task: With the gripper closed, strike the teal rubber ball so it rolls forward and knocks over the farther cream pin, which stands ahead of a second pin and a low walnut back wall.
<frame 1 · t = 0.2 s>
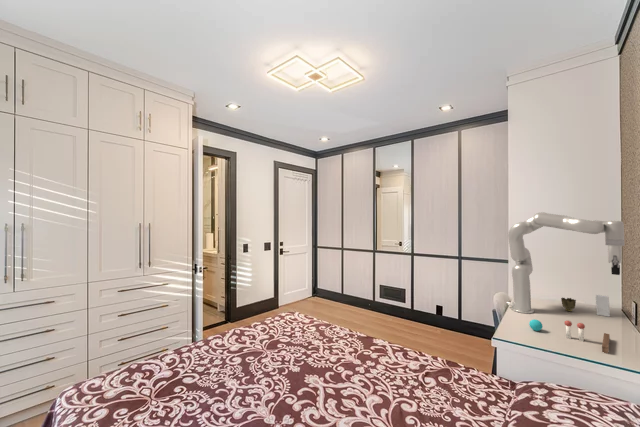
hand: (615, 273, 161), 31 cm above the table, tool pointing down, fingers open, 9 cm apart
skincare box: (603, 315, 181), on the table
pin 2: (581, 340, 147), on the table
cup: (568, 311, 190), on the table
ball: (535, 325, 161), on the table
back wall: (606, 345, 141), on the table
pin 1: (568, 337, 151), on the table
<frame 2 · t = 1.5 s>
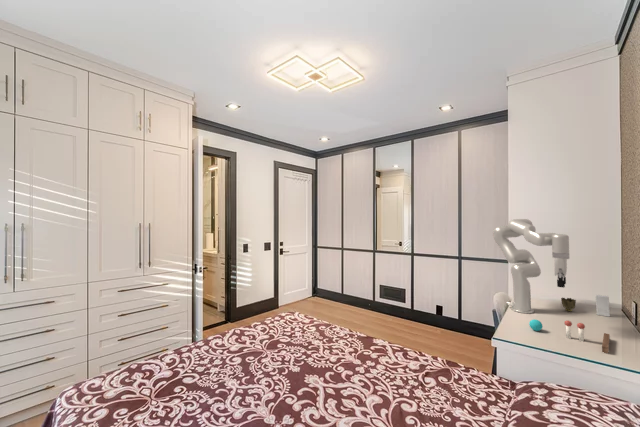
hand: (561, 285, 165), 24 cm above the table, tool pointing down, fingers open, 9 cm apart
nothing on the table moved.
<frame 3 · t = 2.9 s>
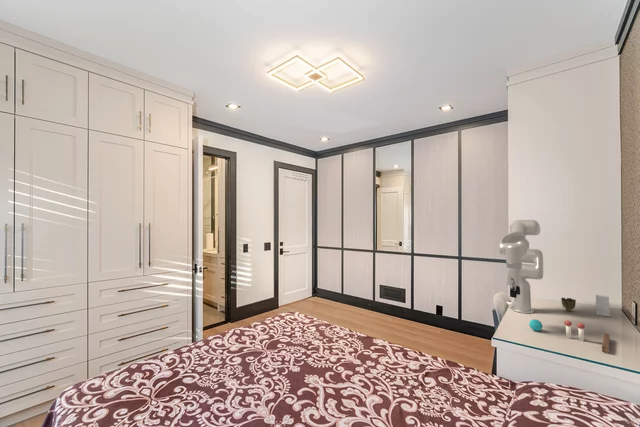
hand: (515, 295, 168), 18 cm above the table, tool pointing down, fingers open, 7 cm apart
nothing on the table moved.
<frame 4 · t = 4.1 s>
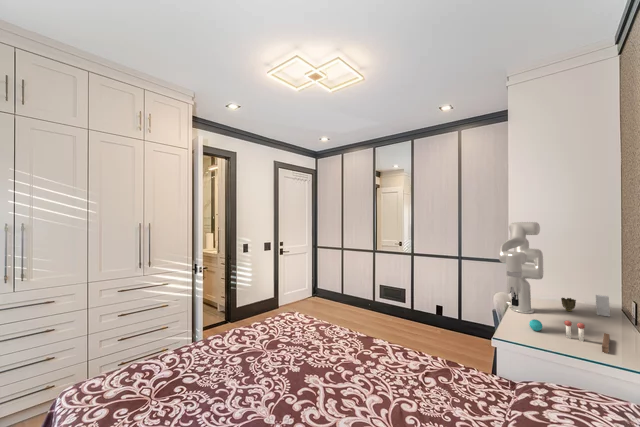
hand: (515, 305, 168), 12 cm above the table, tool pointing down, fingers closed
nothing on the table moved.
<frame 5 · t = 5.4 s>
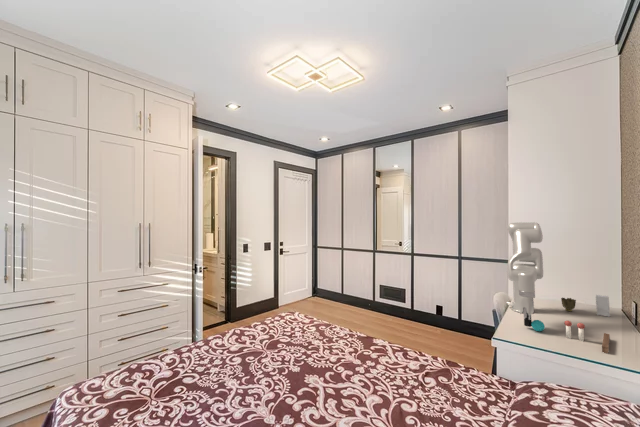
hand: (528, 325, 164), 2 cm above the table, tool pointing down, fingers closed
ball: (537, 325, 160), on the table, touching gripper
everything else where it was.
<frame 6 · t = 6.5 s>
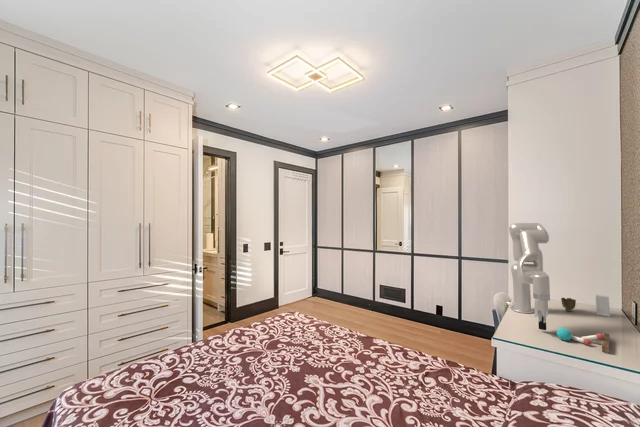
hand: (542, 329, 159), 2 cm above the table, tool pointing down, fingers closed
pin 2: (582, 338, 147), point 1 cm above the table, tilted 64°, touching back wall
ball: (564, 334, 149), on the table
pin 1: (570, 337, 149), point 1 cm above the table, tilted 86°
everything else where it was.
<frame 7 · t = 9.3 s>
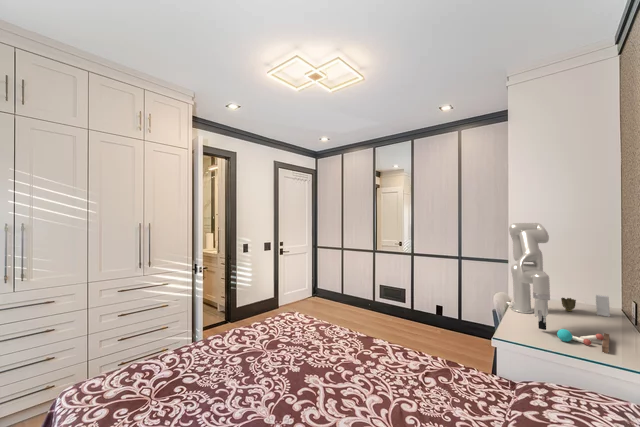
hand: (542, 328, 159), 2 cm above the table, tool pointing down, fingers closed
ball: (564, 335, 147), on the table
everything else where it was.
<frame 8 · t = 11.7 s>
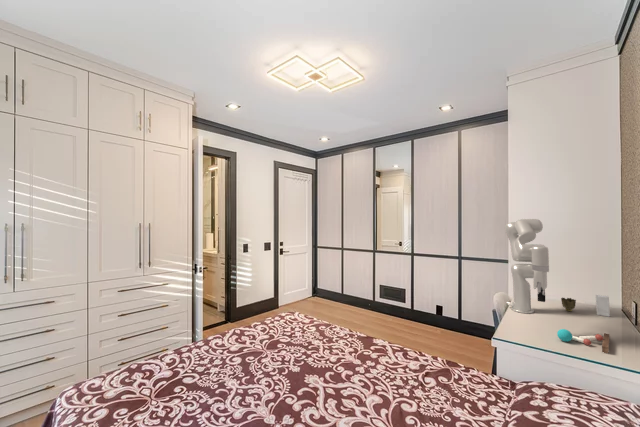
hand: (541, 301, 159), 17 cm above the table, tool pointing down, fingers closed
at the end: pin 1 tilted 86°; pin 1 never touched the robot; ball moved 14.6 cm from its start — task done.
